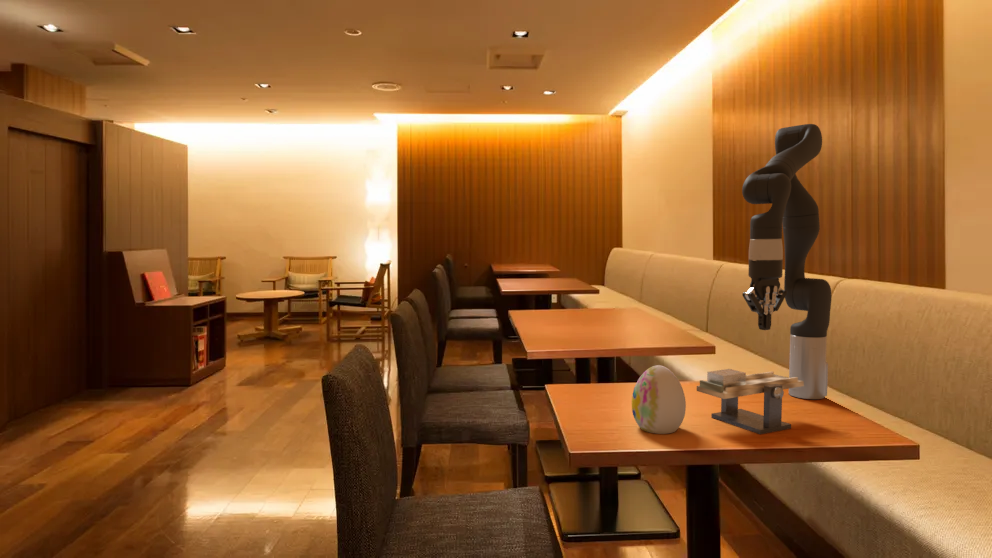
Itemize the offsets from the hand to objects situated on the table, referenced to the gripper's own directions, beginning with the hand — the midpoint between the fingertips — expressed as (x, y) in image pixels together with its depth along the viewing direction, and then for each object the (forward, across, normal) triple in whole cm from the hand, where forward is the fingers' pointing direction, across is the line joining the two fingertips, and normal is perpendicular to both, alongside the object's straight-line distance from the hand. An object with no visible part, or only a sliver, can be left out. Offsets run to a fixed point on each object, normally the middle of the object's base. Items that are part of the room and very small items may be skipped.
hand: (764, 329), depth 152 cm
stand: (+22, +4, 0) cm, 23 cm away
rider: (+13, +12, 0) cm, 17 cm away
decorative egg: (+22, +27, -6) cm, 36 cm away
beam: (+13, +4, 0) cm, 14 cm away
